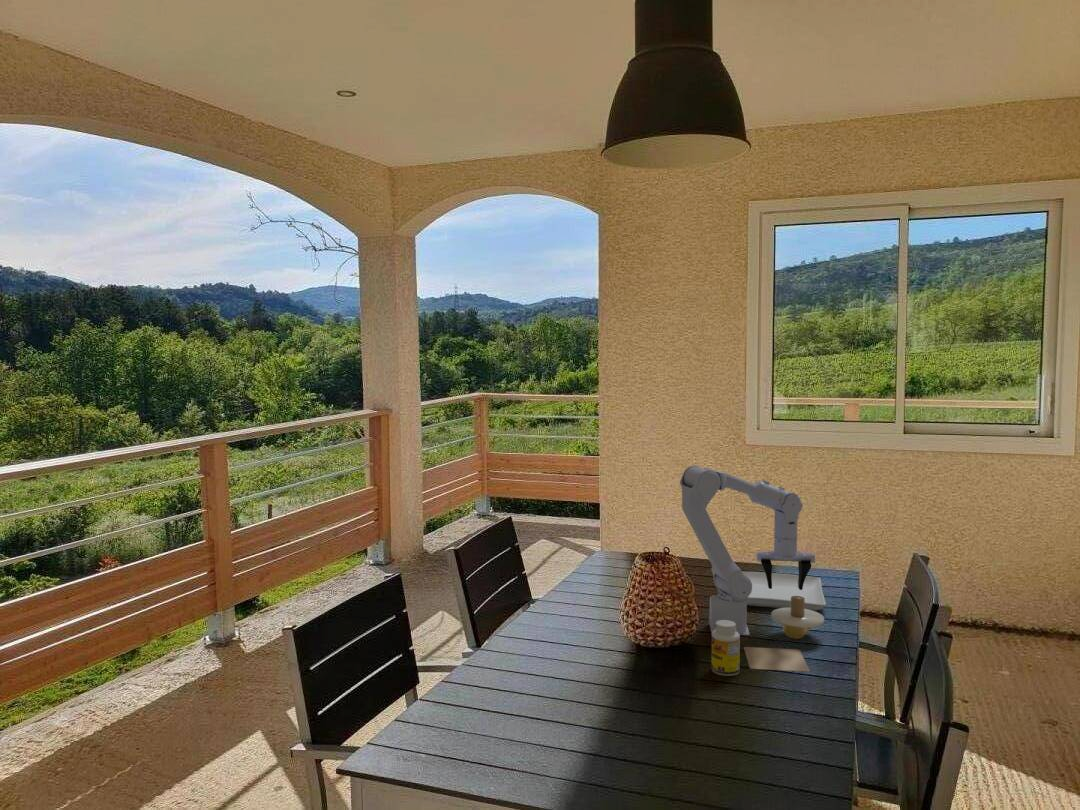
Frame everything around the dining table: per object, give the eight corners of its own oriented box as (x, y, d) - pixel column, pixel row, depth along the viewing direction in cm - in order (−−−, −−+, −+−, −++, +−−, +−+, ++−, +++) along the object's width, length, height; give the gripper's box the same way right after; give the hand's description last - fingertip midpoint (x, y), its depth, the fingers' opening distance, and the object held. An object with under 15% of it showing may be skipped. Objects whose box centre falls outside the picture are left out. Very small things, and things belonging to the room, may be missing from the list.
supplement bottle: (706, 669, 174) (706, 619, 173) (730, 665, 175) (730, 617, 175) (720, 679, 168) (720, 629, 167) (745, 676, 170) (745, 626, 169)
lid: (773, 625, 187) (774, 604, 186) (769, 609, 199) (769, 589, 199) (828, 629, 184) (828, 607, 184) (819, 612, 196) (820, 591, 196)
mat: (749, 671, 172) (749, 668, 172) (743, 649, 185) (743, 646, 185) (810, 674, 170) (810, 671, 170) (799, 652, 183) (799, 649, 183)
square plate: (724, 608, 217) (724, 594, 217) (729, 581, 243) (729, 569, 243) (826, 616, 209) (826, 602, 209) (820, 588, 235) (820, 575, 235)
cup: (786, 650, 185) (787, 628, 185) (760, 632, 197) (761, 612, 197) (830, 645, 188) (830, 623, 188) (802, 628, 200) (802, 608, 200)
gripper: (759, 539, 197) (758, 591, 198) (817, 541, 195) (817, 593, 196) (755, 533, 204) (755, 583, 205) (812, 535, 202) (811, 585, 203)
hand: (785, 588), depth 201 cm, fingers open, 7 cm apart
